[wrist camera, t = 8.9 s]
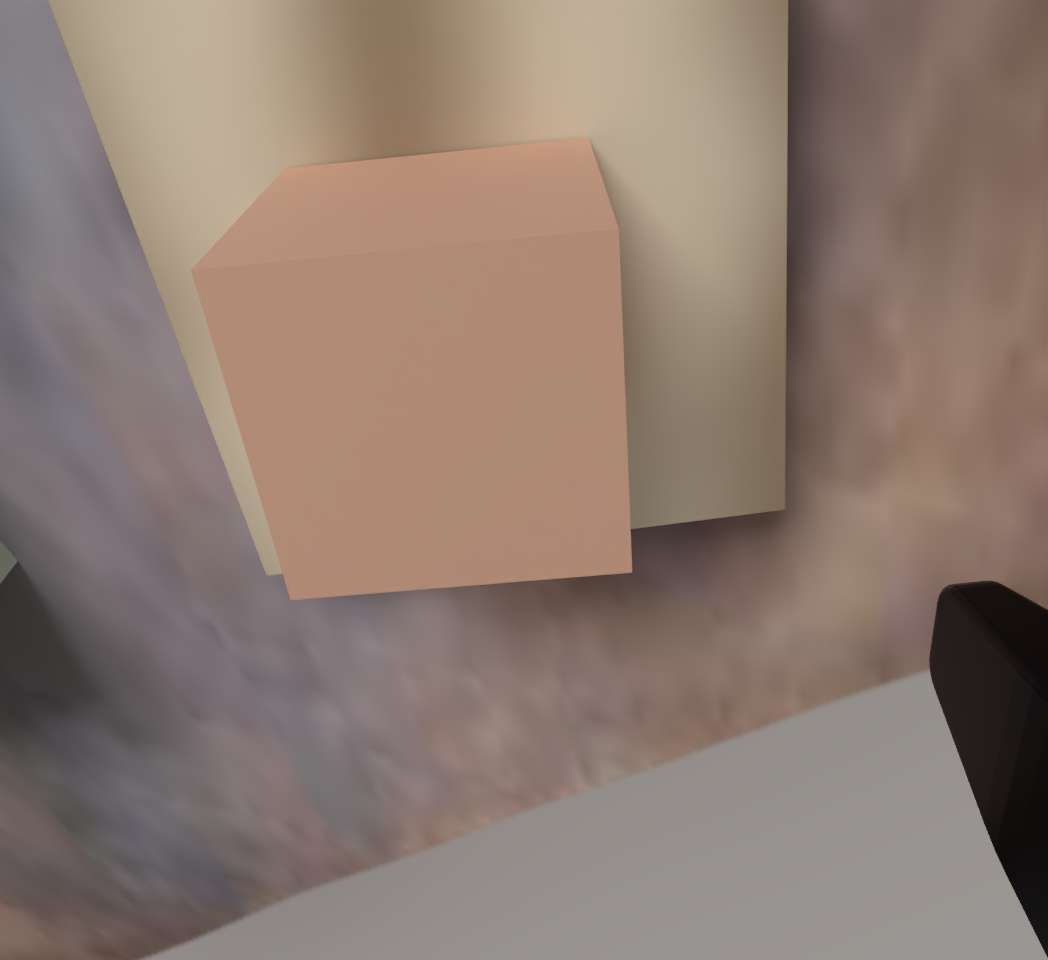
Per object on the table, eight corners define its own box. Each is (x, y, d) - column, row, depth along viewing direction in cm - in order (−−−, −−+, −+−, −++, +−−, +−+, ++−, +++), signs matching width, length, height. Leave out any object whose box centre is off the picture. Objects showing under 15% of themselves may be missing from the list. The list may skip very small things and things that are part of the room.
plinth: (749, -123, 15) (788, -131, 13) (757, 449, 20) (785, 509, 18) (111, -10, 16) (47, -1, 13) (291, 510, 21) (267, 575, 19)
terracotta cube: (588, 137, 14) (619, 228, 10) (603, 410, 17) (632, 572, 13) (284, 168, 15) (190, 270, 10) (345, 433, 17) (290, 600, 13)
